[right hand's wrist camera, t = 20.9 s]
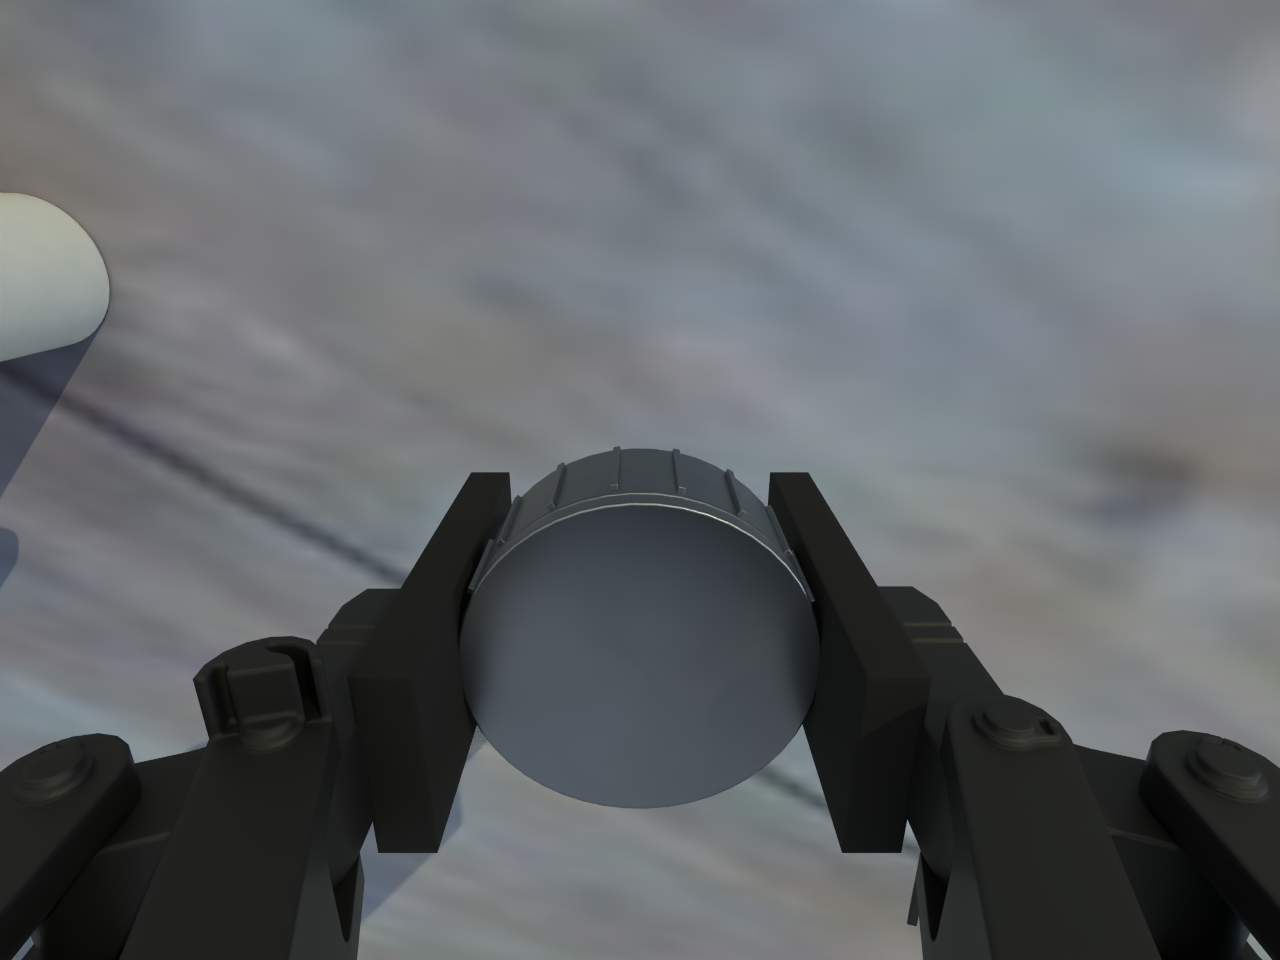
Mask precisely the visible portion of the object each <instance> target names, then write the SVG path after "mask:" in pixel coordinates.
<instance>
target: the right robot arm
mask: <svg viewBox="0 0 1280 960" xmlns="http://www.w3.org/2000/svg"><path fill="white" fill-rule="evenodd" d="M768 505H770V506H771V507H772V508H773V510H774V513H775V515H776V517H777V520H778V522H779V524H780V527H781V529H782V531H783V533H784V536H785V538H786V540H787V543H788V545H789V547H790V550H793V551H794V553H795V555H796V557H797V560H798V562H799V564H800V567H801V569H802V571H803V573H804V576H805V578H806V580H807V582H808V585H809V587H810V589H811V591H812V594H813V596H814V598H815V601H816V606H814V607H813V608H814V611H815V614H816V617H817V620H818V624H819V630H820V635H821V652H820V662H819V671H818V680H817V688H816V695H815V698H814V701H813V704H812V706H811V708H810V710H809V712H808V714H807V717H806V719H805V721H804V722H803V727H804V731H805V734H806V737H807V740H808V744H809V747H810V750H811V753H812V756H813V760H814V763H815V766H816V769H817V773H818V776H819V779H820V782H821V786H822V789H823V792H824V795H825V799H826V802H827V805H828V808H829V812H830V815H831V818H832V821H833V825H834V828H835V831H836V834H837V838H838V841H839V844H840V847H841V851H842V853H901V851H902V845H903V839H904V834H905V828H906V823H907V819H908V821H909V824H910V826H911V828H912V831H913V833H914V835H915V838H916V840H917V842H918V845H919V847H920V849H921V851H920V857H919V862H918V867H917V872H916V877H915V883H914V888H913V893H912V898H911V903H910V908H909V915H908V921H907V924H909V925H913V926H917V921H918V916H919V921H920V931H921V941H922V951H923V960H1262V959H1261V958H1260V957H1259V956H1258V955H1257V954H1256V952H1255V951H1254V950H1253V949H1252V947H1251V946H1250V945H1249V943H1248V942H1247V938H1248V936H1249V934H1250V933H1251V934H1252V935H1253V936H1254V938H1255V939H1256V940H1257V941H1258V943H1259V944H1260V945H1261V946H1262V947H1263V949H1264V950H1265V951H1266V952H1267V954H1268V955H1269V956H1270V957H1271V959H1272V960H1280V768H1279V767H1277V766H1276V765H1275V764H1273V763H1272V762H1271V761H1269V760H1268V759H1267V758H1265V757H1264V756H1262V755H1260V754H1258V753H1256V752H1254V751H1252V750H1250V749H1248V748H1246V747H1244V746H1242V745H1240V744H1238V743H1236V742H1233V741H1231V740H1228V739H1225V738H1224V739H1223V738H1221V737H1219V736H1214V735H1211V734H1207V733H1200V732H1192V731H1185V730H1180V731H1173V732H1166V733H1162V734H1161V735H1160V736H1158V737H1157V738H1156V739H1154V740H1153V741H1152V743H1151V746H1150V749H1149V752H1148V755H1147V758H1146V761H1145V760H1141V759H1136V758H1131V757H1127V756H1122V755H1117V754H1113V753H1108V752H1103V751H1099V750H1094V749H1090V748H1086V747H1083V746H1079V745H1075V744H1073V742H1072V740H1071V738H1070V736H1069V735H1068V734H1067V732H1066V731H1065V729H1064V728H1063V726H1062V725H1061V724H1060V723H1059V722H1058V721H1057V720H1056V719H1054V718H1053V717H1052V716H1050V715H1049V714H1048V713H1047V712H1045V711H1044V710H1043V709H1041V708H1039V707H1037V706H1035V705H1032V704H1030V703H1028V702H1026V701H1024V700H1022V699H1019V698H1016V697H1012V696H1008V695H1004V694H1003V692H1002V691H1001V690H1000V688H999V687H998V686H997V684H996V683H995V682H994V680H993V679H992V677H991V676H990V675H989V673H988V672H987V671H986V669H985V668H984V666H983V665H982V664H981V662H980V661H979V660H978V658H977V657H976V656H975V654H974V653H973V651H972V650H971V649H970V647H969V646H968V645H967V643H964V642H963V638H962V636H961V635H960V634H959V632H958V631H957V630H956V628H955V627H952V625H951V621H950V620H949V619H948V617H947V616H946V615H945V613H944V612H943V610H942V609H941V608H940V606H939V605H938V604H937V603H936V602H935V601H933V600H932V599H930V598H929V597H927V596H926V595H924V594H923V593H921V592H920V591H918V590H917V589H915V588H914V587H878V586H877V585H876V583H875V581H874V580H873V578H872V576H871V575H870V573H869V571H868V570H867V568H866V567H865V565H864V563H863V562H862V560H861V558H860V557H859V555H858V553H857V552H856V550H855V548H854V547H853V545H852V544H851V542H850V540H849V539H848V537H847V535H846V534H845V532H844V530H843V529H842V527H841V525H840V524H839V522H838V521H837V519H836V517H835V516H834V514H833V512H832V511H831V509H830V507H829V506H828V504H827V503H826V501H825V499H824V498H823V496H822V494H821V493H820V491H819V489H818V488H817V486H816V484H815V483H814V481H813V480H812V478H811V476H810V475H809V473H808V472H770V483H769V497H768ZM511 506H512V503H511V489H510V475H509V472H471V474H470V476H469V477H468V479H467V480H466V482H465V484H464V485H463V487H462V489H461V490H460V492H459V494H458V495H457V497H456V499H455V500H454V502H453V503H452V505H451V507H450V508H449V510H448V512H447V513H446V515H445V517H444V518H443V520H442V521H441V523H440V525H439V526H438V528H437V530H436V531H435V533H434V535H433V536H432V538H431V540H430V541H429V543H428V544H427V546H426V548H425V549H424V551H423V553H422V554H421V556H420V558H419V559H418V561H417V562H416V564H415V566H414V567H413V569H412V571H411V572H410V574H409V576H408V577H407V579H406V580H405V582H404V584H403V585H402V587H401V589H366V590H365V591H364V592H362V593H361V594H359V595H358V596H356V597H355V598H353V599H352V600H350V601H349V602H347V603H346V604H344V605H343V606H342V607H341V609H340V610H339V611H338V613H337V614H336V615H335V617H334V618H333V620H332V621H331V622H330V624H329V625H328V626H329V627H328V629H325V631H324V632H323V633H322V635H321V636H320V637H319V639H318V640H317V645H315V644H314V643H313V642H312V641H310V640H307V639H303V638H298V637H294V636H285V637H269V638H264V639H260V640H255V641H251V642H247V643H244V644H242V645H239V646H237V647H235V648H232V649H230V650H227V651H225V652H223V653H221V654H220V655H218V656H217V657H215V658H214V659H213V660H211V661H210V662H208V663H207V664H205V665H204V666H203V667H202V669H201V670H200V671H199V672H198V673H197V675H196V676H195V677H194V678H193V682H194V685H195V689H196V692H197V696H198V700H199V703H200V707H201V711H202V714H203V718H204V721H205V725H206V729H207V732H208V736H209V741H208V744H207V746H206V747H204V748H201V749H197V750H194V751H190V752H186V753H181V754H177V755H172V756H167V757H163V758H158V759H154V760H149V761H144V762H140V763H134V760H133V757H132V754H131V751H130V748H129V745H128V744H127V743H126V742H125V741H123V740H122V739H121V738H119V737H118V736H114V735H107V734H99V733H97V734H89V735H82V736H74V737H70V738H67V739H63V740H60V741H58V742H53V743H51V744H48V745H45V746H43V747H41V748H39V749H37V750H35V751H33V752H31V753H29V754H27V755H25V756H23V757H21V758H20V759H18V760H16V761H15V762H13V763H12V764H10V765H9V766H8V767H6V768H5V769H4V770H2V771H1V772H0V960H12V958H13V957H14V956H15V955H16V953H17V952H18V951H19V950H20V948H21V947H22V946H23V945H24V943H25V942H26V941H27V940H28V938H29V937H30V936H31V938H32V940H33V942H34V945H33V946H32V947H31V948H30V950H29V951H28V952H27V953H26V955H25V956H24V957H23V959H22V960H357V953H358V943H359V933H360V922H361V912H362V902H363V892H364V881H365V880H364V874H363V867H362V862H361V857H360V850H361V847H362V845H363V843H364V840H365V838H366V836H367V833H368V831H369V829H370V826H371V824H372V822H373V825H374V831H375V836H376V842H377V847H378V853H437V852H438V849H439V846H440V843H441V840H442V836H443V833H444V830H445V827H446V823H447V820H448V817H449V814H450V810H451V807H452V804H453V801H454V797H455V794H456V791H457V788H458V784H459V781H460V778H461V775H462V771H463V768H464V765H465V762H466V758H467V755H468V752H469V749H470V745H471V742H472V739H473V736H474V732H475V729H476V726H477V723H476V722H475V720H474V718H473V717H472V715H471V713H470V710H469V708H468V705H467V703H466V700H465V698H464V694H463V687H462V678H461V669H460V660H459V649H458V636H459V631H460V627H461V623H462V618H463V615H464V612H465V610H466V607H467V605H468V602H469V600H470V597H471V595H470V594H467V593H466V592H467V589H468V587H469V585H470V582H471V580H472V578H473V575H474V573H475V571H476V569H477V566H478V564H479V562H480V559H481V557H482V555H483V552H484V550H485V548H486V545H487V543H488V541H489V539H492V540H495V538H496V535H497V533H498V530H499V528H500V527H501V525H502V523H503V522H504V520H505V518H506V517H507V515H508V513H509V511H510V508H511Z"/></svg>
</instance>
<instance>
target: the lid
mask: <svg viewBox="0 0 1280 960" xmlns="http://www.w3.org/2000/svg"><path fill="white" fill-rule="evenodd" d="M466 593H467V594H470V595H471V597H470V600H469V602H468V605H467V607H466V610H465V612H464V615H463V618H462V623H461V627H460V631H459V636H458V649H459V660H460V669H461V678H462V687H463V694H464V698H465V700H466V703H467V705H468V708H469V710H470V713H471V715H472V717H473V718H474V720H475V722H476V723H477V725H478V727H479V729H480V730H481V732H482V733H483V735H484V736H485V737H486V738H487V740H488V741H489V742H490V743H491V745H492V746H493V747H494V748H495V749H496V750H497V751H498V752H499V753H500V754H501V755H502V756H503V757H504V758H505V759H506V760H507V761H508V762H509V763H510V764H512V765H513V766H514V767H516V768H517V769H518V770H519V771H521V772H522V773H523V774H525V775H526V776H528V777H530V778H531V779H533V780H535V781H536V782H538V783H540V784H541V785H543V786H545V787H547V788H550V789H552V790H554V791H556V792H558V793H561V794H563V795H566V796H569V797H572V798H575V799H578V800H581V801H585V802H590V803H594V804H599V805H603V806H611V807H620V808H658V807H669V806H674V805H680V804H685V803H690V802H693V801H697V800H700V799H703V798H707V797H710V796H713V795H715V794H718V793H720V792H722V791H725V790H727V789H730V788H732V787H733V786H735V785H737V784H739V783H741V782H742V781H744V780H746V779H748V778H749V777H751V776H752V775H754V774H755V773H756V772H758V771H759V770H761V769H762V768H763V767H765V766H766V765H767V764H768V763H769V762H771V761H772V760H773V759H774V758H775V757H776V756H777V755H778V754H779V753H780V752H781V751H782V750H783V749H784V748H785V747H786V746H787V744H788V743H789V742H790V741H791V740H792V739H793V737H794V736H795V735H796V733H797V731H798V730H799V728H800V727H801V725H802V724H803V722H804V721H805V719H806V717H807V714H808V712H809V710H810V708H811V706H812V704H813V701H814V698H815V695H816V688H817V680H818V671H819V662H820V652H821V635H820V630H819V624H818V620H817V617H816V614H815V611H814V608H813V607H814V606H816V601H815V598H814V596H813V594H812V591H811V589H810V587H809V585H808V582H807V580H806V578H805V576H804V573H803V571H802V569H801V567H800V564H799V562H798V560H797V557H796V555H795V553H794V551H793V550H790V547H789V545H788V543H787V540H786V538H785V536H784V533H783V531H782V529H781V527H780V524H779V522H778V520H777V517H776V515H775V513H774V510H773V508H772V507H771V506H770V505H768V506H767V507H765V506H764V504H763V503H762V502H761V501H760V500H759V499H758V498H757V497H756V496H755V495H754V494H753V492H752V491H751V490H750V489H749V488H747V487H746V486H745V485H743V484H742V483H741V482H740V481H738V480H737V479H736V478H735V477H734V474H733V472H732V471H731V470H729V469H727V471H726V472H725V471H723V470H721V469H719V468H718V467H716V466H714V465H712V464H709V463H707V462H705V461H702V460H700V459H697V458H695V457H691V456H687V455H684V454H680V450H678V449H673V451H672V452H671V451H664V450H657V449H624V450H621V448H620V447H614V449H613V451H608V452H604V453H599V454H595V455H591V456H588V457H585V458H582V459H580V460H577V461H574V462H572V463H569V464H567V465H565V464H564V463H561V464H559V465H558V467H557V470H556V471H554V472H552V473H551V474H549V475H548V476H546V477H545V478H544V479H542V480H541V481H539V482H538V483H537V484H535V485H534V486H533V487H532V488H531V489H530V490H529V491H528V492H527V493H526V494H524V495H523V496H522V497H520V496H519V495H517V497H516V498H515V499H514V501H513V503H512V506H511V508H510V511H509V513H508V515H507V517H506V518H505V520H504V522H503V523H502V525H501V527H500V528H499V530H498V533H497V535H496V538H495V540H492V539H489V541H488V543H487V545H486V548H485V550H484V552H483V555H482V557H481V559H480V562H479V564H478V566H477V569H476V571H475V573H474V575H473V578H472V580H471V582H470V585H469V587H468V589H467V592H466Z"/></svg>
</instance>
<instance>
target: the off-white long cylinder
mask: <svg viewBox="0 0 1280 960" xmlns="http://www.w3.org/2000/svg"><path fill="white" fill-rule="evenodd" d="M109 295H110V287H109V279H108V274H107V270H106V267H105V264H104V261H103V259H102V257H101V255H100V253H99V251H98V249H97V247H96V246H95V244H94V242H93V241H92V239H91V238H90V237H89V235H88V234H87V233H86V232H85V230H84V229H83V228H82V227H81V226H80V225H79V224H78V223H77V222H76V221H75V220H73V219H72V218H71V217H70V216H69V215H68V214H66V213H65V212H63V211H62V210H60V209H59V208H57V207H55V206H54V205H52V204H50V203H48V202H46V201H44V200H41V199H39V198H36V197H33V196H29V195H25V194H19V193H0V362H1V361H6V360H10V359H14V358H18V357H22V356H26V355H31V354H35V353H39V352H43V351H47V350H51V349H56V348H60V347H64V346H68V345H72V344H75V343H77V342H80V341H82V340H84V339H85V338H87V337H88V336H90V335H91V334H92V333H93V332H94V331H95V330H96V329H97V328H98V326H99V325H100V324H101V322H102V320H103V318H104V317H105V314H106V311H107V308H108V303H109Z"/></svg>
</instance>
